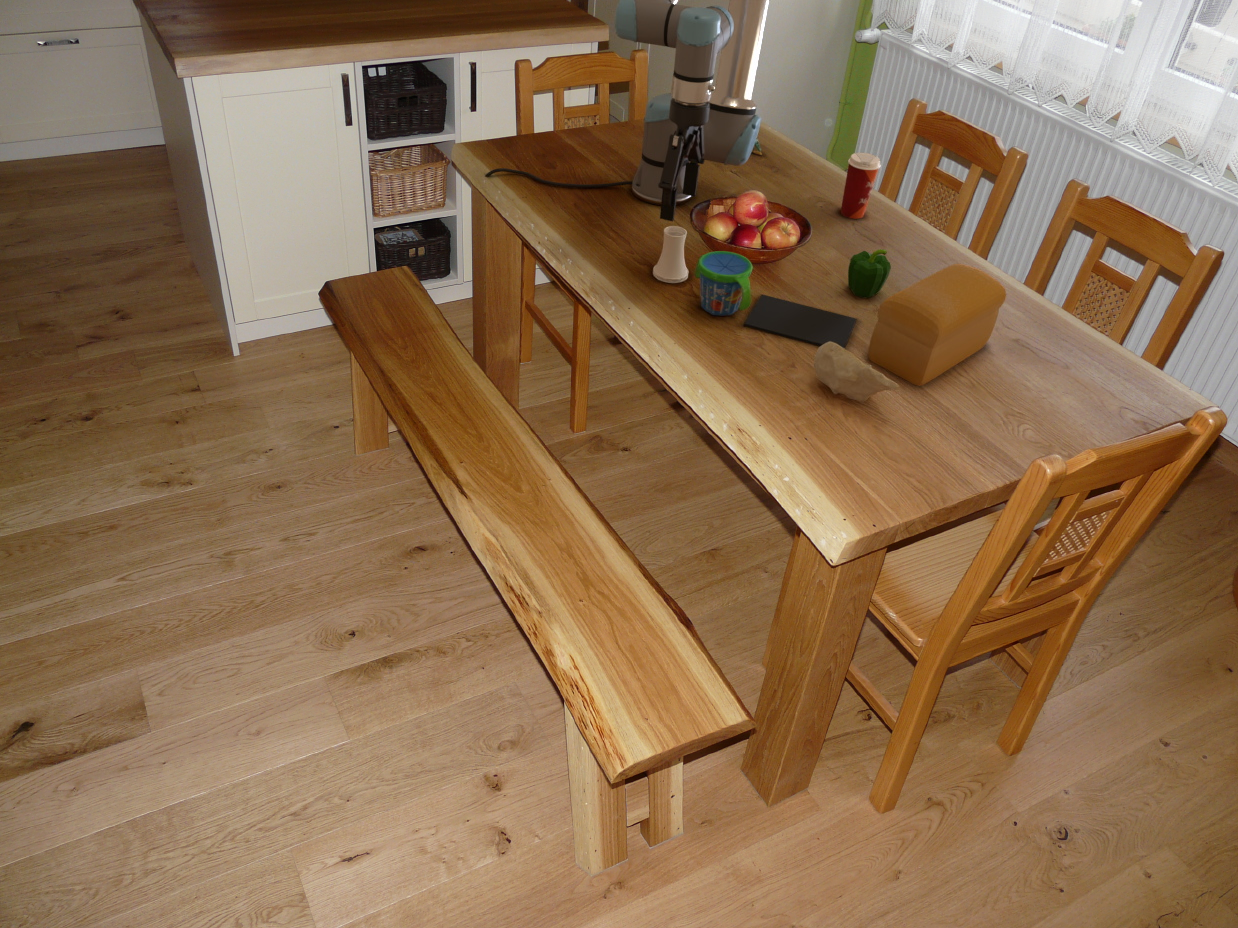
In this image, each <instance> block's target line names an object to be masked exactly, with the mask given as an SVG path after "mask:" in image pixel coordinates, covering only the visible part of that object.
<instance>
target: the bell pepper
mask: <svg viewBox="0 0 1238 928" xmlns="http://www.w3.org/2000/svg"><path fill="white" fill-rule="evenodd" d="M887 253H888V251H887V250H886V249H877V250H875V251H873V252H872V253H870V252H868V251H867V250H862V251H861V252H858V253H856V254H853V255H852V256H851V258H850V260H849V265H848V273H847V282H848V283H847V284H848V288H849V290H850V291H852V293H853V295H854V296H857V297H858V298H865V299H868V298H872V297H873V296H876V295H877V294H878V293H879V292H880V291H881V290H882V288H883V287H884V285H885V283H886V281H888V278H889V275H890V272H891V269H892V267H891V265H892V264H891V262H890V261H889V260H888V258H887V256H886V255H887Z"/></svg>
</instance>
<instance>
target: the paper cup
mask: <svg viewBox="0 0 1238 928" xmlns="http://www.w3.org/2000/svg"><path fill="white" fill-rule="evenodd" d="M847 162H848V167H847V172H846V178H845V184H844V189H843V195H842V200H841V201H842V202H841V206H840V207H841V208H840V214H841V216H844V217H845V218H848V219H855V220H857V219H862V218H863V217H864V215H865V213H866V210H867V207H868V203H869V200H870V197H871V194H872V190H873V189H874V188H873V187H874V185H875V181H876V178H877V176H878V175H877V174H878V172H879V169H880V168H881V166H882V165H881V159H880V157H878V156H877V155H874V154H872V153H868V152H854V153H852V154H850V157H849V159H848V160H847Z"/></svg>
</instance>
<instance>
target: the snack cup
mask: <svg viewBox="0 0 1238 928" xmlns="http://www.w3.org/2000/svg"><path fill="white" fill-rule="evenodd" d="M753 269H754V267H753V264H752V261H750V260H749V258H748V257H746V256H744V255H742V254H739V253H736V252H733V251H726V250H717V251H710V252H707V253H705V254H702V255H700V257H699V258H698V261H697V263H696V266H695V269H694V276H695V278H697V279H699V285H700V286H699V287H700V307H701V309H703V310H704V311H705V312H707V313H709V314H710V315H712V316H719V317H722V316H723V317H724V316H731V315H733V314H734V313H736V312H737V311H740V312H741V311H742V312H743V311H746V310H747V309H748V308H750V306H751V303H752V292H751V282H750V276H751V274H752V273H753Z"/></svg>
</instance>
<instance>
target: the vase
mask: <svg viewBox="0 0 1238 928" xmlns="http://www.w3.org/2000/svg"><path fill="white" fill-rule="evenodd" d="M687 234H688V231H687V230H686V229H685V228H684V227H682V226H678V225H669V226H667V227H664V228H663V243H662V249H661V253H660V256H659V258H658V260H657V263H656V264H655V265H654V266H653V269H652V275H653V277H654V278H655V279H657V281H660V282H663V283H669V284H679V283H682V282H685V281H687V279H688V278H689V271H690V270H689V268H687V265H686V260H685V242H686V238H687Z"/></svg>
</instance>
